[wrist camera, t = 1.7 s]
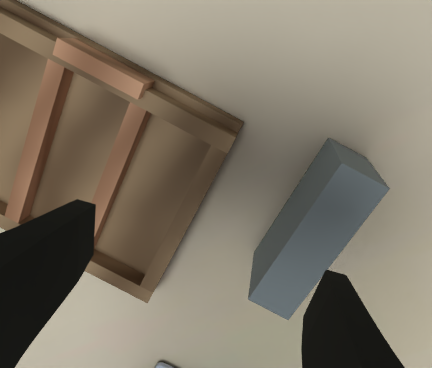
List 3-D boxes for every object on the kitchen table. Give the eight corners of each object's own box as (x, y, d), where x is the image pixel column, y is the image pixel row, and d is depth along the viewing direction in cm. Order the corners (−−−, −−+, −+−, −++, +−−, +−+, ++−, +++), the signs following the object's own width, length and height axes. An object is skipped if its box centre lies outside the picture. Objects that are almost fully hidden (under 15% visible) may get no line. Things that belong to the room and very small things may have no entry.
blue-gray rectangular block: (365, 157, 21) (389, 188, 17) (286, 268, 25) (288, 320, 20) (328, 137, 21) (341, 163, 17) (254, 251, 25) (248, 299, 20)
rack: (243, 121, 22) (238, 132, 19) (154, 288, 27) (141, 314, 24) (-1, -9, 21) (-40, -16, 19) (-41, 187, 27) (-76, 202, 24)
